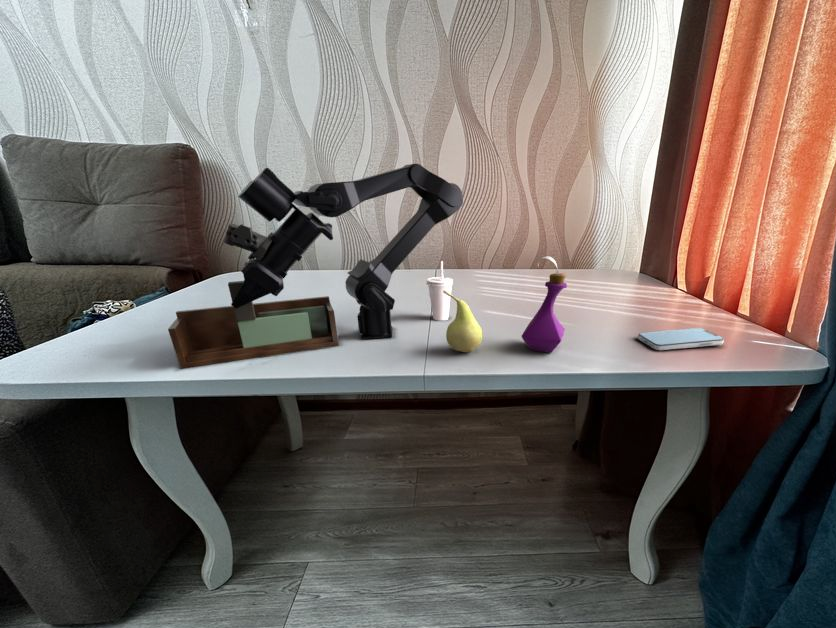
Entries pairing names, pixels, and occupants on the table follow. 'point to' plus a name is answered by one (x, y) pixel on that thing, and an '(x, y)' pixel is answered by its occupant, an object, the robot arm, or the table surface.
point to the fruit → (463, 329)
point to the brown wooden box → (221, 341)
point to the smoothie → (440, 295)
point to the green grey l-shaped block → (268, 324)
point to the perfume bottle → (546, 318)
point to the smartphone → (680, 339)
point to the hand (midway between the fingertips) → (234, 305)
